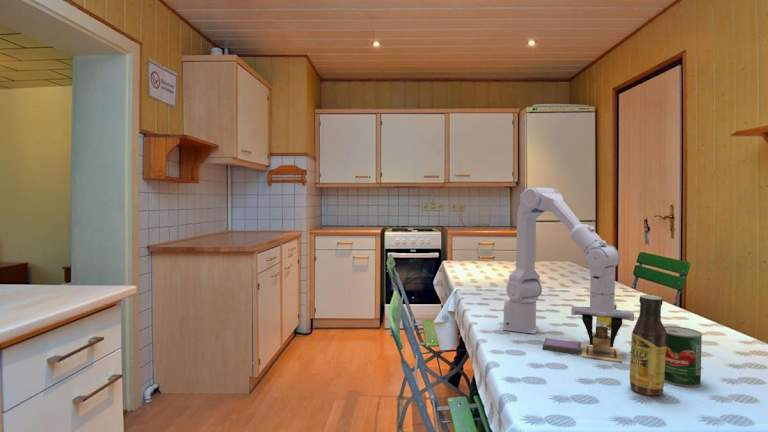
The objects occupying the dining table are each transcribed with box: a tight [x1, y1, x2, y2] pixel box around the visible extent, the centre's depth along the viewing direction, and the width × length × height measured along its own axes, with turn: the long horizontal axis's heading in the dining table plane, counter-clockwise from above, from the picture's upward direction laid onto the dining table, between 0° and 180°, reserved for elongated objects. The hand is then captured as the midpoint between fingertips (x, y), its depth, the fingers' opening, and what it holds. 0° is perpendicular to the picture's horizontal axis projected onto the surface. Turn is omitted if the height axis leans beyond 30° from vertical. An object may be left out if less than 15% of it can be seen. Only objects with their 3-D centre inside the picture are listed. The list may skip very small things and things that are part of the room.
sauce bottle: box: [629, 294, 666, 396], centre depth 94 cm, size 6×6×20 cm
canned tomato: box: [663, 325, 703, 388], centre depth 100 cm, size 8×8×11 cm
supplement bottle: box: [596, 301, 617, 330], centre depth 142 cm, size 6×6×10 cm
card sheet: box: [581, 343, 623, 364], centre depth 118 cm, size 9×11×1 cm
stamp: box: [593, 325, 611, 355], centre depth 118 cm, size 4×4×6 cm
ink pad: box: [542, 337, 582, 356], centre depth 122 cm, size 9×7×1 cm
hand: (601, 345), depth 117 cm, fingers closed on stamp, 4 cm apart
